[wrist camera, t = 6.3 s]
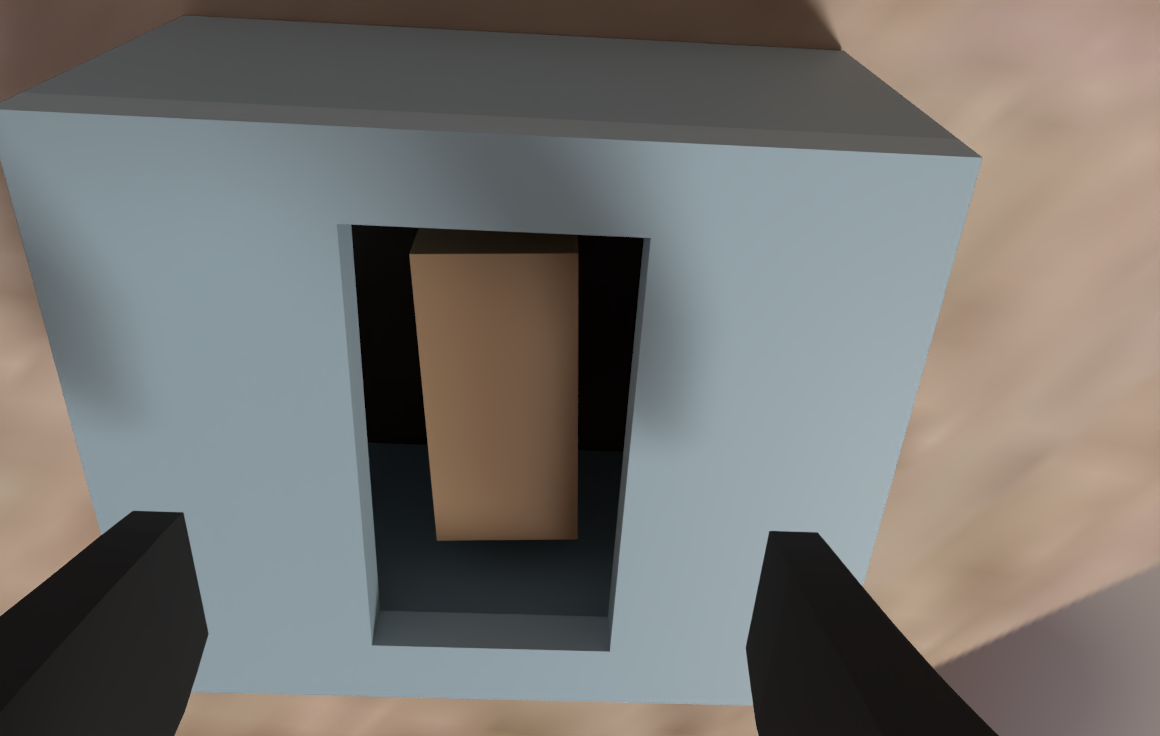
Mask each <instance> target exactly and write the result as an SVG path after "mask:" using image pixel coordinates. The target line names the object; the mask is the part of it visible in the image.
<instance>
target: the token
mask: <svg viewBox="0 0 1160 736" xmlns="http://www.w3.org/2000/svg"><path fill="white" fill-rule="evenodd" d="M409 256H410V267H411V277H412V287H413V298H414V308H415V318H416V329H417V339H418V349H419V360H420V370H421V380H422V391H423V401H424V411H425V422H426V432H427V442H428V453H429V463H430V473H431V484H432V494H433V504H434V515H435V525H436V535H437V541H455V540H556V539H578V235H573V234H551V233H529V232H506V231H484V230H462V229H439V228H418V231H417V234H416V237H415V240H414V242H413V245H412V248H411V251H410V254H409Z"/></svg>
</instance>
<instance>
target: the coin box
mask: <svg viewBox="0 0 1160 736" xmlns="http://www.w3.org/2000/svg"><path fill="white" fill-rule="evenodd" d="M0 160H1V164H2V168H3V171H4V175H5V179H6V183H7V186H8V190H9V194H10V197H11V201H12V205H13V209H14V212H15V216H16V220H17V224H18V227H19V231H20V235H21V238H22V242H23V246H24V250H25V253H26V257H27V261H28V265H29V268H30V272H31V276H32V280H33V283H34V287H35V291H36V294H37V298H38V302H39V306H40V309H41V313H42V317H43V321H44V324H45V328H46V332H47V335H48V339H49V343H50V347H51V350H52V354H53V358H54V362H55V365H56V369H57V373H58V376H59V380H60V384H61V388H62V391H63V395H64V399H65V403H66V406H67V410H68V414H69V417H70V421H71V425H72V429H73V432H74V436H75V440H76V444H77V447H78V451H79V455H80V459H81V462H82V466H83V470H84V473H85V477H86V481H87V485H88V488H89V492H90V496H91V500H92V503H93V507H94V511H95V514H96V518H97V522H98V526H99V529H100V533H101V535H102V534H104V533H105V532H106V531H107V530H109V529H110V528H111V527H112V526H114V525H115V524H116V523H117V522H119V521H120V520H121V519H123V518H124V517H125V516H127V515H128V514H129V513H131V512H132V511H158V512H184V517H185V522H186V527H187V531H188V536H189V541H190V546H191V551H192V556H193V560H194V565H195V570H196V575H197V580H198V585H199V589H200V594H201V599H202V604H203V609H204V614H205V618H206V623H207V628H208V633H209V634H208V638H207V641H206V645H205V648H204V651H203V655H202V658H201V661H200V665H199V668H198V672H197V675H196V678H195V681H194V684H193V687H192V690H191V692H206V693H248V694H291V695H333V696H375V697H417V698H459V699H501V700H543V701H585V702H627V703H669V704H711V705H753V700H752V693H751V686H750V678H749V671H748V663H747V655H746V643H747V638H748V634H749V629H750V624H751V619H752V614H753V609H754V604H755V599H756V594H757V589H758V584H759V579H760V574H761V569H762V565H763V560H764V555H765V550H766V545H767V540H768V535H769V531H789V532H818V533H819V534H820V536H821V537H822V538H823V539H824V540H825V541H826V543H827V544H828V545H829V546H830V547H831V549H832V550H833V551H834V552H835V553H836V555H837V556H838V557H839V558H840V560H841V561H842V562H843V563H844V565H845V566H846V567H847V568H848V569H849V571H850V572H851V573H852V574H853V576H854V577H855V578H856V579H857V580H858V582H859V583H860V584H861V585H862V587H863V584H864V580H865V576H866V573H867V569H868V566H869V562H870V559H871V555H872V551H873V548H874V544H875V541H876V537H877V534H878V530H879V526H880V523H881V519H882V516H883V512H884V508H885V505H886V501H887V498H888V494H889V491H890V487H891V483H892V480H893V476H894V473H895V469H896V466H897V462H898V458H899V455H900V451H901V448H902V444H903V441H904V437H905V433H906V430H907V426H908V423H909V419H910V416H911V412H912V408H913V405H914V401H915V398H916V394H917V390H918V387H919V383H920V380H921V376H922V373H923V369H924V365H925V362H926V358H927V355H928V351H929V348H930V344H931V340H932V337H933V333H934V330H935V326H936V323H937V319H938V315H939V312H940V308H941V305H942V301H943V298H944V294H945V290H946V287H947V283H948V280H949V276H950V272H951V269H952V265H953V262H954V258H955V255H956V251H957V247H958V244H959V240H960V237H961V233H962V230H963V226H964V222H965V219H966V215H967V212H968V208H969V205H970V201H971V197H972V194H973V190H974V187H975V183H976V180H977V176H978V172H979V169H980V165H981V162H982V157H981V156H980V155H978V154H977V153H976V152H974V151H973V150H972V149H971V148H969V147H968V146H967V145H965V144H964V143H963V142H961V141H960V140H959V139H958V138H956V137H955V136H954V135H952V134H951V133H950V132H949V131H947V130H946V129H945V128H943V127H942V126H941V125H939V124H938V123H937V122H936V121H934V120H933V119H932V118H930V117H929V116H928V115H926V114H925V113H924V112H923V111H921V110H920V109H919V108H917V107H916V106H915V105H913V104H912V103H911V102H910V101H908V100H907V99H906V98H904V97H903V96H902V95H900V94H899V93H898V92H897V91H895V90H894V89H893V88H891V87H890V86H889V85H888V84H886V83H885V82H884V81H882V80H881V79H880V78H878V77H877V76H876V75H875V74H873V73H872V72H871V71H869V70H868V69H867V68H865V67H864V66H863V65H862V64H860V63H859V62H858V61H856V60H855V59H854V58H852V57H851V56H850V55H849V54H847V53H846V52H845V51H841V50H823V49H804V48H785V47H767V46H748V45H729V44H711V43H692V42H673V41H655V40H636V39H617V38H599V37H580V36H561V35H543V34H524V33H505V32H487V31H468V30H449V29H431V28H412V27H393V26H375V25H356V24H337V23H319V22H300V21H281V20H262V19H244V18H225V17H206V16H188V15H183V16H181V17H179V18H177V19H174V20H172V21H170V22H168V23H166V24H164V25H162V26H160V27H158V28H156V29H153V30H151V31H149V32H147V33H145V34H143V35H141V36H139V37H137V38H135V39H132V40H130V41H128V42H126V43H124V44H122V45H120V46H118V47H116V48H114V49H111V50H109V51H107V52H105V53H103V54H101V55H99V56H97V57H95V58H93V59H91V60H88V61H86V62H84V63H82V64H80V65H78V66H76V67H74V68H72V69H70V70H67V71H65V72H63V73H61V74H59V75H57V76H55V77H53V78H51V79H49V80H46V81H44V82H42V83H40V84H38V85H36V86H34V87H32V88H30V89H28V90H25V91H23V92H21V93H19V94H17V95H15V96H13V97H11V98H9V99H7V100H4V101H2V102H0ZM351 225H372V226H394V227H417V228H439V229H462V230H484V231H506V232H529V233H551V234H573V235H596V236H618V237H641V238H644V242H643V253H642V263H641V274H640V284H639V295H638V305H637V316H636V326H635V337H634V347H633V358H632V368H631V379H630V389H629V400H628V410H627V421H626V431H625V442H624V452H616V451H587V450H578V539H556V540H455V541H437V535H436V525H435V515H434V504H433V494H432V484H431V473H430V463H429V453H428V445H416V444H387V443H368V442H367V429H366V415H365V402H364V389H363V375H362V362H361V349H360V335H359V322H358V309H357V296H356V282H355V269H354V256H353V242H352V229H351Z"/></svg>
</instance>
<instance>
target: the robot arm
mask: <svg viewBox="0 0 1160 736" xmlns="http://www.w3.org/2000/svg"><path fill="white" fill-rule="evenodd" d="M208 634H209V633H208V628H207V623H206V618H205V614H204V609H203V604H202V599H201V594H200V589H199V585H198V580H197V575H196V570H195V565H194V560H193V556H192V551H191V546H190V541H189V536H188V531H187V527H186V522H185V517H184V512H158V511H132V512H131V513H129V514H128V515H127V516H125V517H124V518H123V519H121V520H120V521H119V522H117V523H116V524H115V525H114V526H112V527H111V528H110V529H109V530H107V531H106V532H105V533H104V534H102V535H101V536H100V537H99V538H97V539H96V540H95V541H94V542H92V543H91V544H90V545H89V546H88V547H86V548H85V549H84V550H83V551H81V552H80V553H79V554H78V555H76V556H75V557H74V558H73V559H72V560H70V561H69V562H68V563H67V564H65V565H64V566H63V567H62V568H60V569H59V570H58V571H57V572H56V573H54V574H53V575H52V576H51V577H49V578H48V579H47V580H46V581H44V582H43V583H42V584H41V585H39V586H38V587H37V588H36V589H34V590H33V591H32V592H30V593H29V594H28V595H27V596H25V597H24V598H23V599H22V600H20V601H19V602H18V603H17V604H15V605H14V606H13V607H11V608H10V609H9V610H8V611H6V612H5V613H4V614H3V615H1V616H0V736H174V735H175V733H176V730H177V728H178V726H179V723H180V721H181V719H182V717H183V714H184V712H185V709H186V706H187V703H188V700H189V697H190V694H191V690H192V687H193V684H194V681H195V678H196V675H197V672H198V668H199V665H200V661H201V658H202V655H203V651H204V648H205V645H206V641H207V638H208ZM746 655H747V663H748V671H749V678H750V686H751V693H752V700H753V707H754V713H755V720H756V726H757V730H758V734H759V736H998V735H997V734H996V733H995V732H994V731H993V730H992V729H991V728H990V727H989V726H988V725H987V724H986V723H985V722H984V721H983V720H982V719H981V718H980V717H979V716H978V715H977V714H976V713H975V712H974V711H973V710H972V709H971V708H970V707H969V706H968V705H967V704H966V703H965V702H964V701H963V699H962V698H961V697H960V696H958V695H957V693H956V692H955V691H954V690H953V689H952V688H951V687H950V686H949V685H948V684H947V683H946V682H945V681H944V680H943V678H942V677H941V676H940V675H939V674H938V673H937V672H936V671H935V670H934V669H933V668H932V666H931V665H930V664H929V663H928V662H927V661H926V660H925V659H924V657H923V656H922V655H921V654H920V653H919V652H918V651H917V650H916V648H915V647H914V646H913V645H912V644H911V643H910V642H909V641H908V640H907V638H906V637H905V636H904V635H903V634H902V633H901V632H900V631H899V629H898V628H897V627H896V626H895V625H894V624H893V622H892V621H891V620H890V619H889V618H888V617H887V615H886V614H885V613H884V612H883V611H882V609H881V608H880V607H879V606H878V605H877V603H876V602H875V601H874V600H873V599H872V597H871V596H870V595H869V594H868V593H867V591H866V590H865V589H864V588H863V587H862V585H861V584H860V583H859V582H858V580H857V579H856V578H855V577H854V576H853V574H852V573H851V572H850V571H849V569H848V568H847V567H846V566H845V565H844V563H843V562H842V561H841V560H840V558H839V557H838V556H837V555H836V553H835V552H834V551H833V550H832V549H831V547H830V546H829V545H828V544H827V543H826V541H825V540H824V539H823V538H822V537H821V536H820V534H819V533H818V532H789V531H769V535H768V540H767V545H766V550H765V555H764V560H763V565H762V569H761V574H760V579H759V584H758V589H757V594H756V599H755V604H754V609H753V614H752V619H751V624H750V629H749V634H748V638H747V643H746Z"/></svg>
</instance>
